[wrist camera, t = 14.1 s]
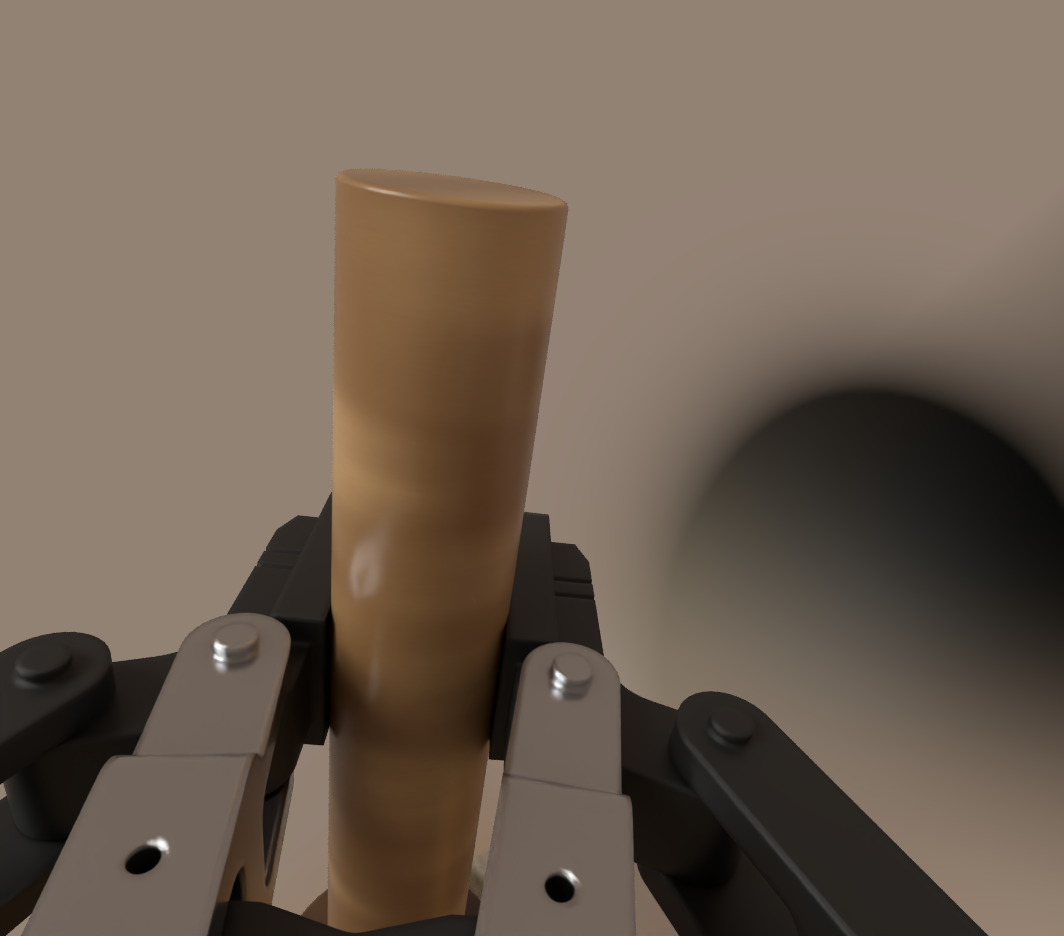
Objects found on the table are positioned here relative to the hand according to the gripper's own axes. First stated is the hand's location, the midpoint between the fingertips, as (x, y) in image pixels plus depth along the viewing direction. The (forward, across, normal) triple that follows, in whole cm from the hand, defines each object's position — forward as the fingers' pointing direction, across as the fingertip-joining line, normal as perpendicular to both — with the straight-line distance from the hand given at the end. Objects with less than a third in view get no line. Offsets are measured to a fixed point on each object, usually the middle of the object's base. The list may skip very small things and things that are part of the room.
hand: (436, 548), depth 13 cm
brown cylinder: (-3, 0, +14) cm, 14 cm away
